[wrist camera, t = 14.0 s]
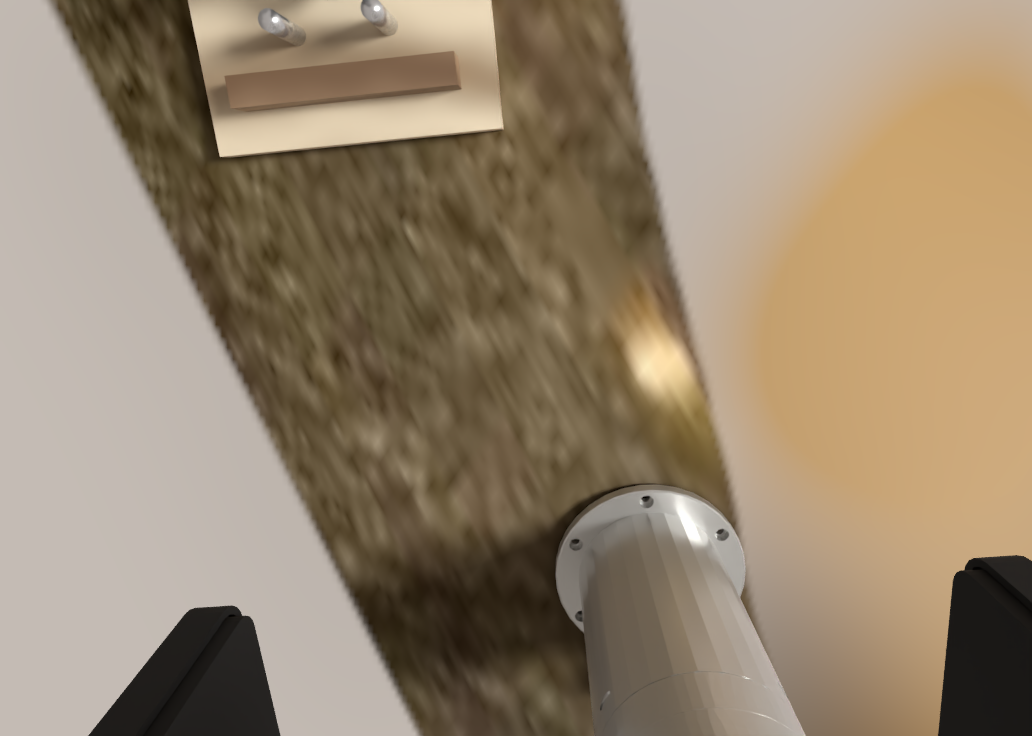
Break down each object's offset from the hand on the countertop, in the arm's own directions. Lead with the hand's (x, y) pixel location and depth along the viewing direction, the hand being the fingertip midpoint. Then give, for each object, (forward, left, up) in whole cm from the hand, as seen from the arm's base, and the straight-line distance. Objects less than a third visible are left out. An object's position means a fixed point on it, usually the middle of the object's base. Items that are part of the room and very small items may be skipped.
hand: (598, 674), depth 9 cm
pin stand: (+19, +10, -33) cm, 40 cm away
